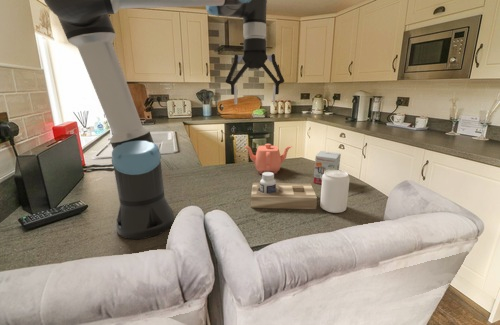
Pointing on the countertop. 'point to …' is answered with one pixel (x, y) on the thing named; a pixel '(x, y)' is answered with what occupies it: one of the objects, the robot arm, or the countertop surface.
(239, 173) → the countertop surface
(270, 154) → the teapot
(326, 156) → the ink box
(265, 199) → the socket block
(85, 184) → the countertop surface
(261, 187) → the pill bottle
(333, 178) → the beverage can
